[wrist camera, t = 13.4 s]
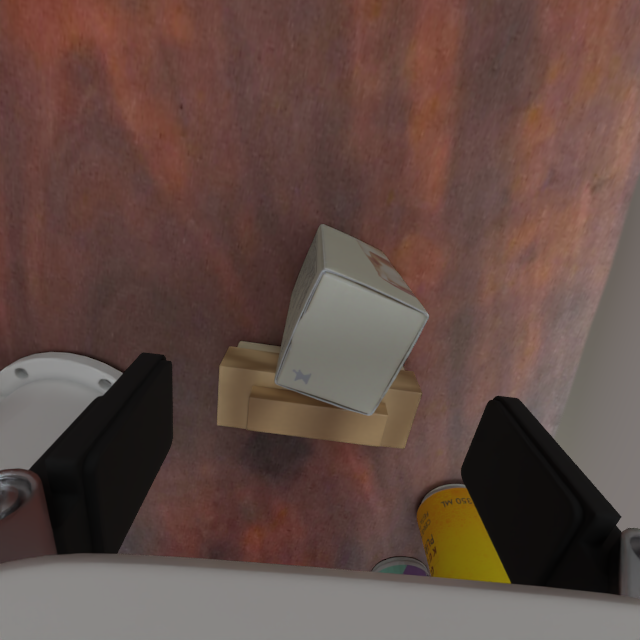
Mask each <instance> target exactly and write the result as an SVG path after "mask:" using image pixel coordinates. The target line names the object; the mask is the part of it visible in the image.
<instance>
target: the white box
mask: <svg viewBox="0 0 640 640" xmlns="http://www.w3.org/2000/svg"><path fill="white" fill-rule="evenodd" d="M428 318H429V314H428V313H427V312H426V310H425V309H424V307H423V306H422V305H421V303H420V302H419V301H418V299H417V298H416V297H415V295H414V294H413V293H412V291H411V290H410V288H409V287H408V286H407V284H406V283H405V282H404V280H403V279H402V278H401V276H400V275H399V273H398V272H397V271H396V270H395V268H394V267H393V265H392V264H391V263H390V261H389V260H388V259H387V257H386V256H385V254H384V253H383V252H382V251H381V250H379V249H377V248H374V247H372V246H370V245H368V244H366V243H364V242H362V241H360V240H358V239H356V238H354V237H351V236H349V235H347V234H345V233H343V232H340V231H338V230H336V229H334V228H331V227H329V226H327V225H324V224H322V225H320V226H319V228H318V230H317V232H316V235H315V237H314V239H313V242H312V244H311V246H310V249H309V251H308V253H307V256H306V258H305V261H304V263H303V266H302V268H301V271H300V273H299V276H298V278H297V281H296V284H295V286H294V289H293V292H292V295H291V300H290V305H289V310H288V315H287V320H286V325H285V330H284V334H283V339H282V344H281V349H280V354H279V358H278V363H277V368H276V373H275V379H274V381H275V384H277V385H279V386H282V387H284V388H287V389H290V390H293V391H295V392H298V393H301V394H304V395H306V396H309V397H312V398H314V399H317V400H320V401H323V402H326V403H329V404H332V405H334V406H337V407H340V408H343V409H347V410H350V411H353V412H357V413H360V414H363V415H367V416H371V415H372V414H373V413H374V412H375V410H376V409H377V407H378V406H379V404H380V402H381V401H382V399H383V398H384V396H385V395H386V393H387V391H388V390H389V388H390V387H391V385H392V383H393V381H394V380H395V378H396V377H397V375H398V373H399V371H400V370H401V368H402V366H403V364H404V363H405V361H406V359H407V357H408V356H409V354H410V353H411V351H412V349H413V347H414V345H415V343H416V342H417V339H418V338H419V336H420V333H421V332H422V330H423V328H424V326H425V324H426V322H427V320H428Z"/></svg>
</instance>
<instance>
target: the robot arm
mask: <svg viewBox="0 0 640 640" xmlns="http://www.w3.org/2000/svg"><path fill="white" fill-rule="evenodd" d="M172 439H173V401H172V362H171V361H167V360H166V357H165V356H164V355H160V354H152V353H142V354H140V355H139V356H138V358H137V359H136V360H135V361H134V362H133V363H132V364H131V365H130V366H129V367H128V369H127V370H126V371H125V372H124V373H122V372H120V371H118V370H116V369H115V368H113V367H111V366H109V365H107V364H105V363H103V362H100V361H97V360H95V359H92V358H89V357H86V356H82V355H77V354H72V353H63V352H46V353H38V354H33V355H30V356H27V357H23V358H20V359H19V360H17V361H15V362H14V363H12V364H10V365H9V366H7V367H5V368H4V369H3V370H1V371H0V640H640V529H638V528H628V529H626V530H624V531H623V532H621V531H620V530H619V529H618V527H617V526H616V524H617V523H618V521H619V520H620V518H621V516H620V515H619V514H618V512H617V511H616V510H615V509H614V508H613V507H612V505H611V504H610V503H609V502H608V501H607V500H606V499H605V498H604V496H603V495H602V494H601V493H600V492H599V490H597V488H596V487H595V486H594V485H593V484H592V482H591V481H590V480H589V479H588V478H587V477H586V476H585V474H584V473H583V472H582V471H581V470H580V469H579V467H578V466H577V465H576V464H575V463H574V462H573V461H572V459H571V458H570V457H569V456H568V455H567V454H566V453H565V452H564V450H563V449H562V448H561V447H560V446H559V445H558V443H557V442H556V441H555V440H554V439H553V438H552V436H551V435H550V434H549V433H548V432H547V431H546V430H545V428H544V427H543V426H542V425H541V424H540V423H539V422H538V420H537V419H536V418H535V417H534V416H533V415H532V414H531V412H530V411H529V410H528V409H527V408H526V407H525V405H524V404H523V403H522V402H521V401H520V400H519V399H517V398H511V397H503V396H496V397H495V398H494V399H493V400H490V401H489V402H488V403H487V405H486V408H485V410H484V413H483V415H482V418H481V420H480V423H479V425H478V428H477V430H476V433H475V435H474V438H473V440H472V443H471V445H470V447H469V450H468V452H467V455H466V457H465V460H464V462H463V465H462V468H461V476H462V479H463V482H464V484H465V486H466V488H467V490H468V492H469V495H470V497H471V499H472V501H473V503H474V505H475V507H476V510H477V512H478V514H479V516H480V518H481V520H482V522H483V524H484V527H485V529H486V531H487V533H488V535H489V537H490V539H491V541H492V544H493V546H494V548H495V550H496V552H497V554H498V556H499V558H500V561H501V563H502V565H503V567H504V569H505V571H506V573H507V575H508V578H509V580H510V582H511V584H508V583H497V582H486V581H474V580H463V579H452V578H440V577H429V576H417V575H405V574H393V573H381V572H369V571H356V570H344V569H332V568H319V567H307V566H294V565H281V564H268V563H255V562H242V561H229V560H216V559H202V558H187V557H170V556H153V555H136V554H117V553H118V551H119V549H120V547H121V545H122V543H123V541H124V539H125V537H126V535H127V533H128V531H129V529H130V527H131V525H132V523H133V521H134V519H135V517H136V515H137V513H138V511H139V509H140V507H141V505H142V503H143V501H144V499H145V497H146V495H147V493H148V491H149V489H150V487H151V485H152V483H153V481H154V479H155V477H156V475H157V473H158V471H159V469H160V467H161V465H162V463H163V461H164V459H165V457H166V455H167V453H168V452H169V449H170V447H171V444H172Z"/></svg>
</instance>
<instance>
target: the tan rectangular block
mask: <svg viewBox="0 0 640 640" xmlns="http://www.w3.org/2000/svg"><path fill="white" fill-rule="evenodd" d="M280 349H281V347H280V346H273V345H266V344H259V343H251V342H244V341H240V342H239V344H238V347H231V346H229V348H228V350H227V352H226V354H225V356H224V358H223V360H222V362H221V364H220V366H219V387H218V410H217V425H220V426H227V427H235V428H243V429H247V430H251V431H259V432H267V433H274V434H282V435H290V436H298V437H306V438H314V439H322V440H330V441H338V442H345V443H353V444H361V445H369V446H377V447H379V446H385V447H393V448H401V449H404V448H405V445H406V442H407V439H408V436H409V432H410V429H411V426H412V423H413V420H414V417H415V414H416V411H417V408H418V405H419V402H420V399H421V396H422V391H421V389H420V387H419V384H418V382H417V379H416V377H415V374H414V372H412V371H405V370H404V367H403V366H402V368H401V370H400V371H399V373H398V375H397V377H396V378H395V380H394V381H393V383H392V385H391V387H390V388H389V390H388V391H387V393H386V395H385V396H384V398H383V399H382V401H381V402H380V404H379V406H378V407H377V409H376V410H375V412H374V413H373V414H372V415H371V416H367V415H363V414H360V413H357V412H353V411H350V410H347V409H343V408H340V407H337V406H334V405H332V404H329V403H326V402H323V401H320V400H317V399H314V398H312V397H309V396H306V395H304V394H301V393H298V392H295V391H293V390H290V389H287V388H284V387H282V386H279V385H277V384H275V381H274V379H275V373H276V368H277V363H278V358H279V354H280Z"/></svg>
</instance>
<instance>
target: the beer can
mask: <svg viewBox="0 0 640 640" xmlns="http://www.w3.org/2000/svg"><path fill="white" fill-rule="evenodd" d="M417 521H418V525H419V529H420V533H421V537H422V541H423V545H424V549H425V553H426V557H427V561H428V565H429V569H430V573H431V577H440V578H452V579H463V580H474V581H486V582H497V583H508V584H511V582H510V580H509V578H508V575H507V573H506V571H505V569H504V567H503V565H502V563H501V561H500V558H499V556H498V554H497V552H496V550H495V548H494V546H493V544H492V541H491V539H490V537H489V535H488V533H487V531H486V529H485V527H484V524H483V522H482V520H481V518H480V516H479V514H478V512H477V510H476V507H475V505H474V503H473V501H472V499H471V497H470V495H469V492H468V490H467V488H466V486H465V485H463V484H447V485H443V486H440V487H437V488H435V489H433V490H432V491H430V492H429V493H428V494H427V495H426V496H425V497H424V499H423V500H422V503H421V505H420V507H419V509H418V511H417Z"/></svg>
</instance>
